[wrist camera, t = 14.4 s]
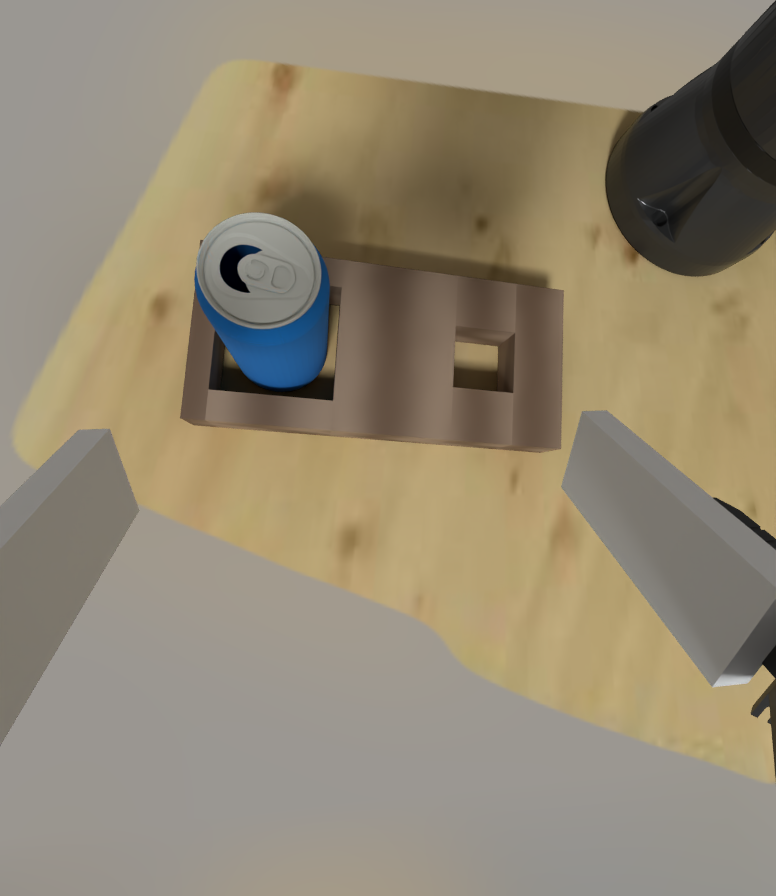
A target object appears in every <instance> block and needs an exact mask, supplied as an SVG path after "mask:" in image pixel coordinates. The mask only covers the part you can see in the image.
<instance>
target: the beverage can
mask: <svg viewBox="0 0 776 896" xmlns="http://www.w3.org/2000/svg"><path fill="white" fill-rule="evenodd" d="M195 290H196V295H197V299H198V301H199V304H200V306H201V308H202V310H203V312H204V314H205V315H206V317H207V318H208V320H209V321H210V323H211V324H212V326H213V327H214V329H215V331H216V332H217V334H218V335H219V337H220V338H221V340H222V341H223V343H224V344H225V346H226V347H227V349H228V350H229V352H230V353H231V355H232V356H233V358H234V359H235V361H236V363H237V364H238V366H239V367H240V369H241V370H242V371H243V373H244V374H245V375H246V376H247V377H248V379H250V380H251V381H252V382H253V383H255V384H256V385H258V386H260V387H262V388H264V389H267V390H271V391H276V392H288V391H293V390H297V389H300V388H302V387H304V386H306V385H307V384H309V383H310V382H312V381H313V380H314V379H315V378H316V377H317V376H318V374H319V373H320V371H321V370H322V368H323V366H324V363H325V360H326V355H327V338H328V316H329V294H330V281H329V275H328V270H327V267H326V265H325V262H324V260H323V258H322V256H321V254H320V253H319V251H318V250H317V248H316V247H315V246H314V245H313V243H312V242H311V241H310V239H309V238H308V237H307V236H306V234H305V233H304V232H303V231H302V230H300V229H299V228H298V227H297V226H296V225H294V224H293V223H291V222H289V221H287V220H285V219H283V218H281V217H278V216H275V215H271V214H267V213H243V214H239V215H235V216H233V217H230V218H228V219H226V220H224V221H222V222H221V223H219V224H218V225H217V226H215V227H214V228H213V229H212V230H211V231H210V232H209V233H208V235H207V236H206V237H205V239H204V241H203V242H202V244H201V246H200V249H199V252H198V256H197V263H196V269H195Z"/></svg>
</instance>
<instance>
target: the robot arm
mask: <svg viewBox="0 0 776 896" xmlns="http://www.w3.org/2000/svg"><path fill="white" fill-rule="evenodd" d="M606 184H607V195H608V200H609V204H610V208H611V211H612V214H613V216H614V218H615V221H616V223H617V225H618V227H619V228H620V230H621V232H622V233H623V235H624V236H625V238H626V239H627V240H628V241H629V243H630V244H631V245H632V246H633V247H634V248H635V249H636V250H637V251H638V252H639V253H640V254H641V255H642V256H643V257H645V258H646V259H647V260H649V261H650V262H652V263H653V264H655V265H656V266H658V267H660V268H662V269H664V270H667V271H669V272H672V273H675V274H679V275H684V276H707V275H712V274H715V273H718V272H720V271H723V270H725V269H726V268H728V267H730V266H732V265H734V264H736V263H737V262H739V261H741V260H743V259H745V258H746V257H748V256H749V255H751V254H752V253H754V252H755V251H756V250H758V249H759V248H760V247H761V246H762V245H763V244H764V243H765V242H766V241H767V240H768V239H769V238H770V236H771V235H772V234H773V232H774V231H775V230H776V1H775V2H774V3H773V4H772V5H771V6H770V7H769V8H768V9H767V10H766V11H765V12H764V13H763V15H761V17H760V18H759V19H758V20H757V21H756V22H755V23H754V24H753V25H752V26H751V27H750V28H749V29H748V31H746V33H745V34H744V35H743V36H742V37H741V38H740V39H739V40H738V42H736V44H735V45H734V46H733V47H732V48H731V49H730V50H729V51H728V52H727V53H726V54H725V55H724V56H723V57H722V59H721V60H720V61H719V62H717V63H716V64H715V65H713V66H712V67H710V68H709V69H707V70H706V71H704V72H703V73H701V74H700V75H698V76H697V77H695V78H694V79H693V80H691V81H690V82H688V83H687V84H686V85H684V86H683V87H682V88H681V89H679V90H678V91H677V92H676V93H675V94H674V95H672V96H669V97H667V98H664V99H662V100H660V101H659V102H657V103H656V104H654V105H653V106H651V107H650V108H648V109H647V110H646V111H645V112H644V113H643V114H642V115H640V116H639V117H638V119H637V120H636V121H635V122H634V123H633V124H632V126H631V127H630V128H629V129H628V130H627V131H626V133H625V134H624V135H623V136H622V137H621V138H620V140H619V141H618V143H617V144H616V146H615V148H614V150H613V152H612V154H611V157H610V160H609V163H608V168H607V179H606ZM561 487H562V489H563V490H564V491H565V493H566V494H567V495H568V497H569V498H570V499H571V501H572V502H573V503H574V505H575V506H576V507H577V509H578V510H579V511H580V513H581V514H582V515H583V517H584V518H585V519H586V521H587V522H588V523H589V524H590V526H591V527H592V528H593V530H594V531H595V532H596V534H597V535H598V536H599V538H600V539H601V540H602V542H603V543H604V544H605V546H606V547H607V548H608V550H609V551H610V552H611V554H612V555H613V556H614V558H615V559H616V560H617V562H618V563H619V564H620V566H621V567H622V568H623V569H624V571H625V572H626V573H627V575H628V576H629V577H630V579H631V580H632V581H633V583H634V584H635V585H636V587H637V588H638V589H639V591H640V592H641V593H642V595H643V596H644V597H645V599H646V600H647V601H648V603H649V604H650V605H651V607H652V608H653V609H654V611H655V612H656V613H657V615H658V616H659V617H660V618H661V620H662V621H663V622H664V624H665V625H666V626H667V628H668V629H669V630H670V632H671V633H672V634H673V636H674V637H675V638H676V640H677V641H678V642H679V644H680V645H681V646H682V648H683V649H684V650H685V652H686V653H687V654H688V656H689V657H690V658H691V660H692V661H693V662H694V663H695V665H696V666H697V667H698V669H699V670H700V671H701V673H702V674H703V675H704V677H705V678H706V679H707V681H708V682H709V683H710V685H711V686H712V687H718V686H727V685H736V684H746V683H748V682H749V681H750V680H751V678H752V677H753V676H754V675H755V673H756V672H757V671H758V669H759V668H760V667H761V666H762V664H763V665H764V666H765V667H766V668H767V670H768V671H769V672H770V673H771V674H772V675H773V676H774V677H775V678H776V539H775V538H774V537H773V536H771V535H770V534H769V533H768V532H766V531H765V530H761V529H760V526H759V525H758V524H756V523H755V522H754V521H753V520H751V519H750V518H749V517H748V516H746V515H745V514H744V513H743V512H741V511H740V510H738V509H736V508H734V507H733V506H731V505H729V504H727V503H725V502H723V501H721V500H719V499H717V498H712V497H711V496H710V495H708V494H707V493H706V492H705V491H704V490H702V489H701V488H700V487H699V486H698V485H696V484H695V483H694V482H693V481H692V480H690V479H689V478H688V477H687V476H685V475H684V474H683V473H682V472H681V471H679V470H678V469H677V468H676V467H675V466H673V465H672V464H671V463H670V462H669V461H667V460H666V459H665V458H664V457H662V456H661V455H660V454H659V453H658V452H656V451H655V450H654V449H653V448H652V447H650V446H649V445H648V444H647V443H645V442H644V441H643V440H642V439H641V438H639V437H638V436H637V435H636V434H635V433H633V432H632V431H631V430H630V429H629V428H627V427H626V426H625V425H624V424H622V423H621V422H620V421H619V420H618V419H616V418H615V417H614V416H613V415H612V414H610V413H609V412H608V411H607V410H606V411H582V414H581V417H580V421H579V425H578V428H577V432H576V435H575V439H574V443H573V446H572V450H571V453H570V457H569V461H568V464H567V468H566V471H565V475H564V479H563V482H562V486H561ZM138 512H139V508H138V505H137V503H136V500H135V497H134V494H133V492H132V489H131V486H130V483H129V481H128V478H127V475H126V472H125V470H124V467H123V464H122V461H121V459H120V456H119V453H118V450H117V448H116V445H115V442H114V439H113V437H112V434H111V431H110V429H90V430H78V431H77V432H76V433H75V434H74V435H73V436H72V437H71V438H70V439H69V440H68V441H67V442H66V443H65V444H64V445H63V446H62V447H61V448H60V449H59V450H57V451H56V452H55V453H54V454H53V455H52V456H51V457H50V458H49V459H48V460H47V461H46V462H45V463H44V464H43V465H42V466H41V467H40V468H39V469H38V470H37V471H36V472H35V473H34V474H33V475H32V476H31V477H30V478H29V479H28V480H27V481H26V482H25V483H24V484H23V485H21V487H19V488H18V490H16V491H15V492H14V493H13V494H12V495H11V496H10V497H9V498H8V499H7V500H6V501H5V502H4V503H3V504H2V505H1V506H0V745H1V744H2V742H3V740H4V738H5V737H6V735H7V734H8V732H9V730H10V728H11V727H12V725H13V724H14V722H15V720H16V718H17V717H18V715H19V713H20V712H21V710H22V708H23V707H24V705H25V703H26V702H27V700H28V698H29V696H30V695H31V693H32V691H33V690H34V688H35V686H36V685H37V683H38V681H39V679H40V678H41V676H42V674H43V672H44V671H45V669H46V668H47V666H48V664H49V663H50V661H51V659H52V657H53V656H54V654H55V652H56V651H57V649H58V647H59V645H60V644H61V642H62V641H63V639H64V637H65V635H66V634H67V632H68V630H69V629H70V627H71V625H72V624H73V622H74V620H75V618H76V617H77V615H78V613H79V612H80V610H81V608H82V607H83V605H84V603H85V601H86V600H87V598H88V596H89V595H90V593H91V591H92V590H93V588H94V586H95V585H96V583H97V581H98V580H99V578H100V576H101V574H102V573H103V571H104V569H105V567H106V566H107V564H108V562H109V561H110V559H111V557H112V556H113V554H114V552H115V551H116V549H117V547H118V546H119V544H120V542H121V541H122V539H123V537H124V535H125V534H126V532H127V530H128V529H129V527H130V525H131V523H132V522H133V520H134V518H135V517H136V515H137V513H138ZM766 707H770V716H771V718H770V719H769V720H768V722H767V723H770V724H771V728H772V740H773V752H774V764H775V776H776V679H775V680H774V681H773V682H772V683H771V685H770V686H769V687H768V688H767V689H766V691H765V692H764V693H763V694H762V695H761V697H760V698H759V699H758V700H757V701H756V703H755V704H754V705H753V707H752V711H751V715H753V716H755V717H757V718H758V716H759V715H760V714H761V713H762V712H763V711H764V709H765V708H766Z"/></svg>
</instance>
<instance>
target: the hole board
mask: <svg viewBox="0 0 776 896" xmlns="http://www.w3.org/2000/svg"><path fill="white" fill-rule="evenodd" d="M203 241H204V240H200V246H201V244H202V242H203ZM322 258H323V260H324V262H325V265H326V267H327V270H328V275H329V281H330V294H329V304H331V305H339V306H340V310H339V324H338V337H337V350H336V364H335V377H334V390H333V401H330V400H319V399H308V398H297V397H286V396H275V395H264V394H253V393H242V392H231V391H220V386H221V376H222V367H223V357H224V347H225V344H224V343H223V341H222V340H221V338H220V337H219V335H218V334H217V332H216V331H215V329H214V327H213V326H212V324H211V323H210V321H209V320H208V318H207V317H206V315H205V314H204V312H203V310H202V308H201V306H200V304H199V301H198V299H197V295H196V290H195V293H194V302H193V310H192V319H191V328H190V337H189V345H188V354H187V363H186V372H185V381H184V389H183V398H182V407H181V416H180V418H181V419H183V420H185V421H187V422H189V423H191V424H193V425H198V426H211V427H224V428H236V429H249V430H262V431H274V432H287V433H299V434H312V435H325V436H337V437H350V438H363V439H375V440H388V441H401V442H413V443H426V444H438V445H451V446H464V447H476V448H489V449H502V450H514V451H527V452H539V453H541V452H546V451H552V450H558V449H561V418H562V358H563V298H564V290H557V289H550V288H542V287H535V286H528V285H521V284H514V283H506V282H499V281H492V280H485V279H478V278H470V277H463V276H456V275H449V274H442V273H434V272H427V271H420V270H413V269H406V268H399V267H391V266H384V265H377V264H370V263H363V262H355V261H348V260H341V259H334V258H327V257H322ZM455 341H457V342H465V343H474V344H483V345H491V346H499V347H498V377H497V391H487V390H477V389H467V388H457V387H453V376H454V353H455Z"/></svg>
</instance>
